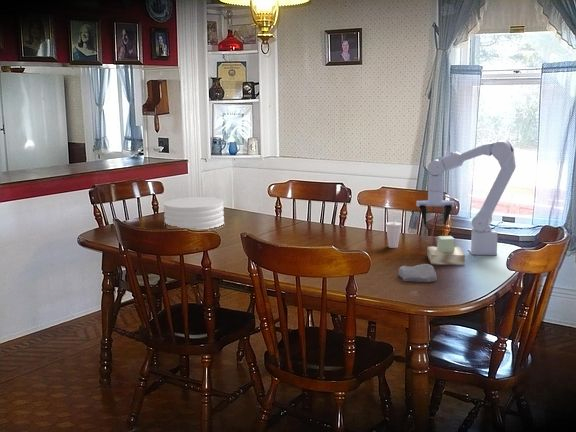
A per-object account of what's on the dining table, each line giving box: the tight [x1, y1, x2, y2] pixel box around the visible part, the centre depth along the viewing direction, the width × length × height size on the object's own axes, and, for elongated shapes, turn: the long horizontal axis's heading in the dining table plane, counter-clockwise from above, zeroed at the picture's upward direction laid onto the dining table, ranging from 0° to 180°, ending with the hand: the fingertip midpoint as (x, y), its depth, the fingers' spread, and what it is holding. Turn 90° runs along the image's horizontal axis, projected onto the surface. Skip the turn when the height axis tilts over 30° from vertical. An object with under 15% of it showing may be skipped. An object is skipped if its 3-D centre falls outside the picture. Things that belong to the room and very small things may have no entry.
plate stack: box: [163, 196, 225, 229], centre depth 309 cm, size 28×28×12 cm
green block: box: [436, 235, 456, 253], centre depth 242 cm, size 5×5×5 cm
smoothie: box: [385, 212, 402, 249], centre depth 262 cm, size 6×6×14 cm
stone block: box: [397, 263, 438, 283], centre depth 221 cm, size 12×5×10 cm
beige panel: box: [426, 246, 466, 266], centre depth 243 cm, size 12×12×4 cm
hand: (434, 224), depth 258 cm, fingers open, 7 cm apart
